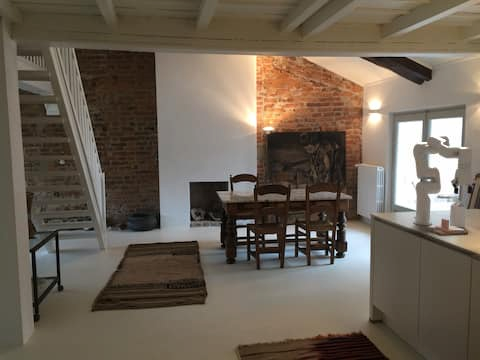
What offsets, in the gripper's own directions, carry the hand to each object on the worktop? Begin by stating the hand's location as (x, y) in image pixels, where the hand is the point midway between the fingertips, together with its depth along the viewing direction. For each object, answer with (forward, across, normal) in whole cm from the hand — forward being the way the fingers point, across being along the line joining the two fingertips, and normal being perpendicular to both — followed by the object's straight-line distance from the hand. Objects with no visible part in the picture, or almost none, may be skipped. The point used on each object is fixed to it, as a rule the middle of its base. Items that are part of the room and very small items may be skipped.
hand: (462, 193), depth 259 cm
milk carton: (+28, -19, -27) cm, 43 cm away
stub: (+26, +2, -13) cm, 30 cm away
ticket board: (+28, 0, -13) cm, 31 cm away
